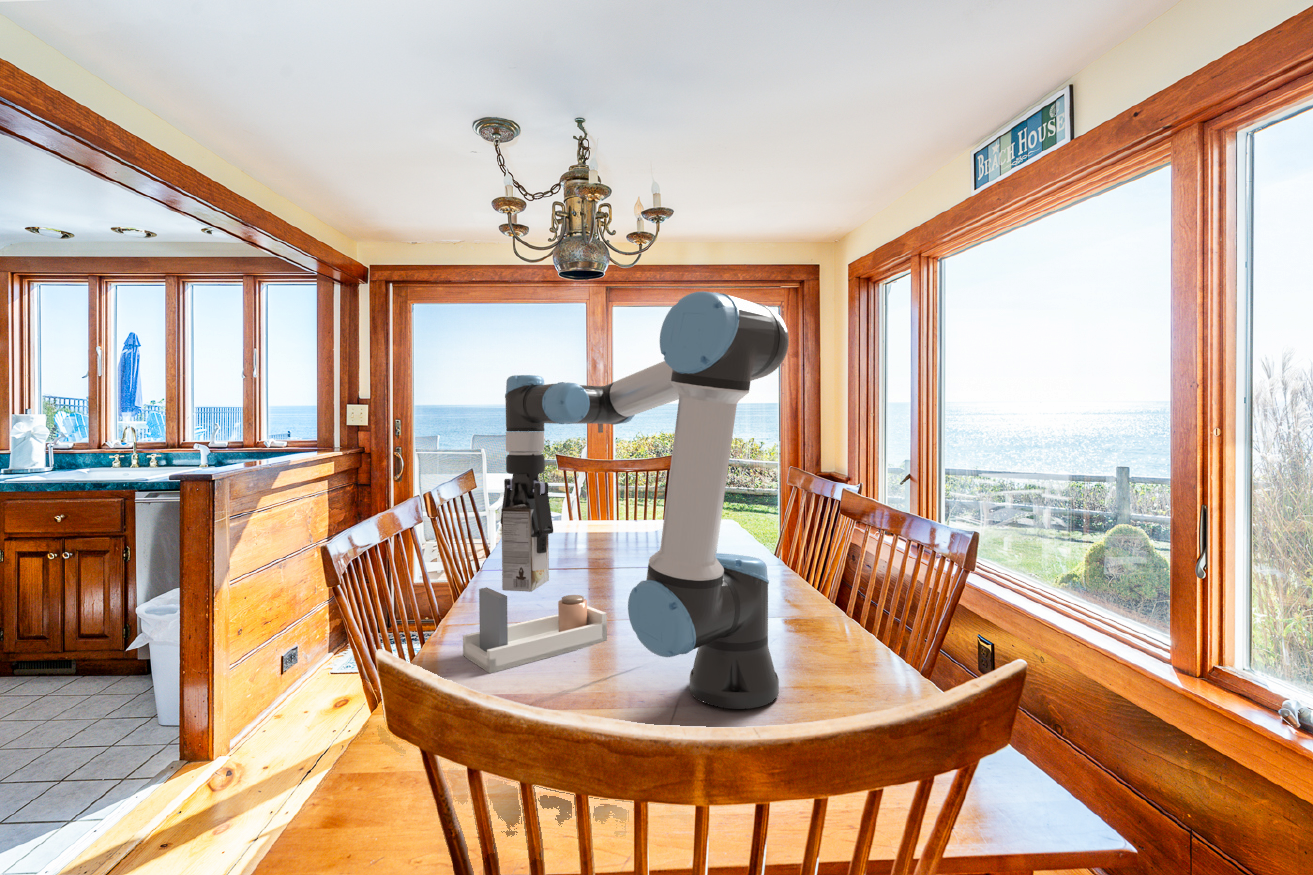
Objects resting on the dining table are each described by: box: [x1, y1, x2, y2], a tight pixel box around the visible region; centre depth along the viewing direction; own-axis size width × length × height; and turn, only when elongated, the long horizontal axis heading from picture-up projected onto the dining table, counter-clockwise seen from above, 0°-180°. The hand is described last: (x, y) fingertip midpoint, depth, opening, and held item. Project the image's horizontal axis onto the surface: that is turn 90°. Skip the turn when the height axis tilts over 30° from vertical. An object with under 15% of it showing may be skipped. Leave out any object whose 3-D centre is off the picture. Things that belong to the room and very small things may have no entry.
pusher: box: [478, 587, 508, 652], centre depth 121 cm, size 9×2×12 cm, turn 40°
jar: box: [557, 594, 588, 632], centre depth 132 cm, size 6×6×8 cm
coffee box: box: [501, 504, 550, 593], centre depth 125 cm, size 9×6×16 cm
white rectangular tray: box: [462, 605, 608, 674], centre depth 127 cm, size 12×26×6 cm, turn 130°
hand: (525, 564), depth 125 cm, fingers closed on coffee box, 10 cm apart
